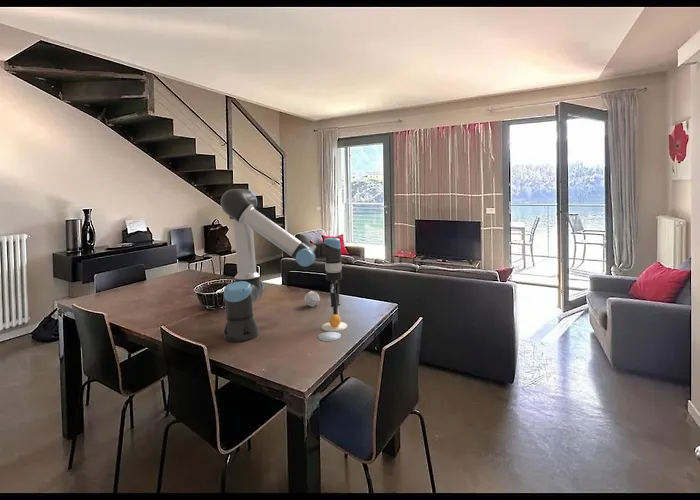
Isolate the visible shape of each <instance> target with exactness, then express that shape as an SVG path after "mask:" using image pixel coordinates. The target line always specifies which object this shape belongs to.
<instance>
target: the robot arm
mask: <svg viewBox="0 0 700 500" xmlns="http://www.w3.org/2000/svg"><path fill="white" fill-rule="evenodd" d="M220 206H221V207H220V208H222V210H223V212H224V213H225V214H226V215H227V216H229V220H230V221H231V223H232V224H233V232H234V235H233V237H234V246H235V257H236V269H237V273H236V275H235V276H234V282H231V283H228V284H227V285H225V286H224V288H223V299H224V307H225V309H224V311H225V317H226V321H225V323H224V324H225V326H224V330H223V339H224V340H225V341H228V342H235V343H236V342H237V343H239V342H244V341H248V340H249V341H250V340H252V339H254V338H256V337H258V335H259V326H258V324H257V322H256V320H255V317H254V307H253V305H254V304H255V303H256V302H258V301H259V299H260V298H261V297H262V295H263V293H264V289H265V288H264V284H263V283H264V282H263V281H262V280H261V275H260V273H259V272H257V263H256V249H255V235H254V232H256V233H258V234H259V235H260V236H261V237H263V238H265V239H266V240H267V241H268V242H271V243H272V244H273V245H274V246H276V247H277V248H279V249H281V250H282V251H284V252H285V253H286V254H288V255H289V256H290V257H292V258H293V259H294V260H295V261H296V263H297V264H298V266H301V267H303V268H304V267H309V266H311V265H313V263H314V262H315V260H324V263H325V264H324V265H325V268H324V269H325V271H326V272H325V280H326V281H329V282H330V284H329V289H328V290H329V295H330V304H331V305H330V308H332V315H338V316H339V317H340V310H339V306H340V305H341V303H340V282H339V281H340V280H342V279H343V271H342V270H343V269H342V267H344V264H343V263H342V247H341V246H342V245H341V240H340V238H338V237H326V238H324V239H323V242H302V241H301V240H300V239H298V238H297V237H295V236H294V235H292V234H291V233H290V232H288V231H287V230H286V229H284V228H282V227H281V226H280V225H278V224H277V223H276V222H274V221H273V220H271V219H270V218H268V217H266V215H264V214H262V213H261V212H259V210H257V207H258V199H257V196H256V195H255V194H254V192H253V191H251V190H249V189H245V188H237V189H236V188H232V189H231V188H230V189H228V190H227V191H225V192H224V193H223V194H222V195H221V198H220Z"/></svg>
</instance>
